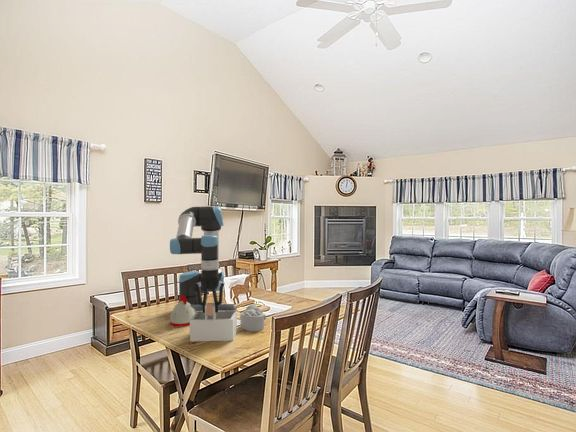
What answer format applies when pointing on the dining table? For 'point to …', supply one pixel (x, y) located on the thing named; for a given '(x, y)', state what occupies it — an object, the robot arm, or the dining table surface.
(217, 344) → the dining table surface
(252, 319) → the lumpy-topped squat cylinder
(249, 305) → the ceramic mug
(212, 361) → the dining table surface
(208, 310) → the carton lid
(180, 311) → the kitchen timer
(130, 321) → the dining table surface
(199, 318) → the carton
